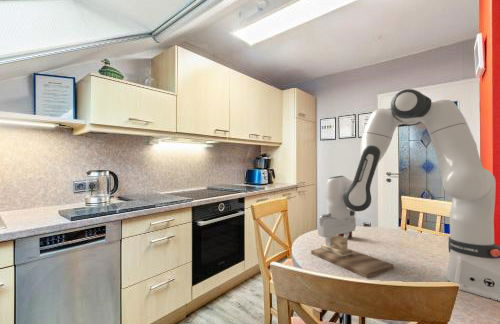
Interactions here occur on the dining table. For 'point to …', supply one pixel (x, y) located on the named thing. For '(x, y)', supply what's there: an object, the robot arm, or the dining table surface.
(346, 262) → the board
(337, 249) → the sanding block
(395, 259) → the dining table surface
